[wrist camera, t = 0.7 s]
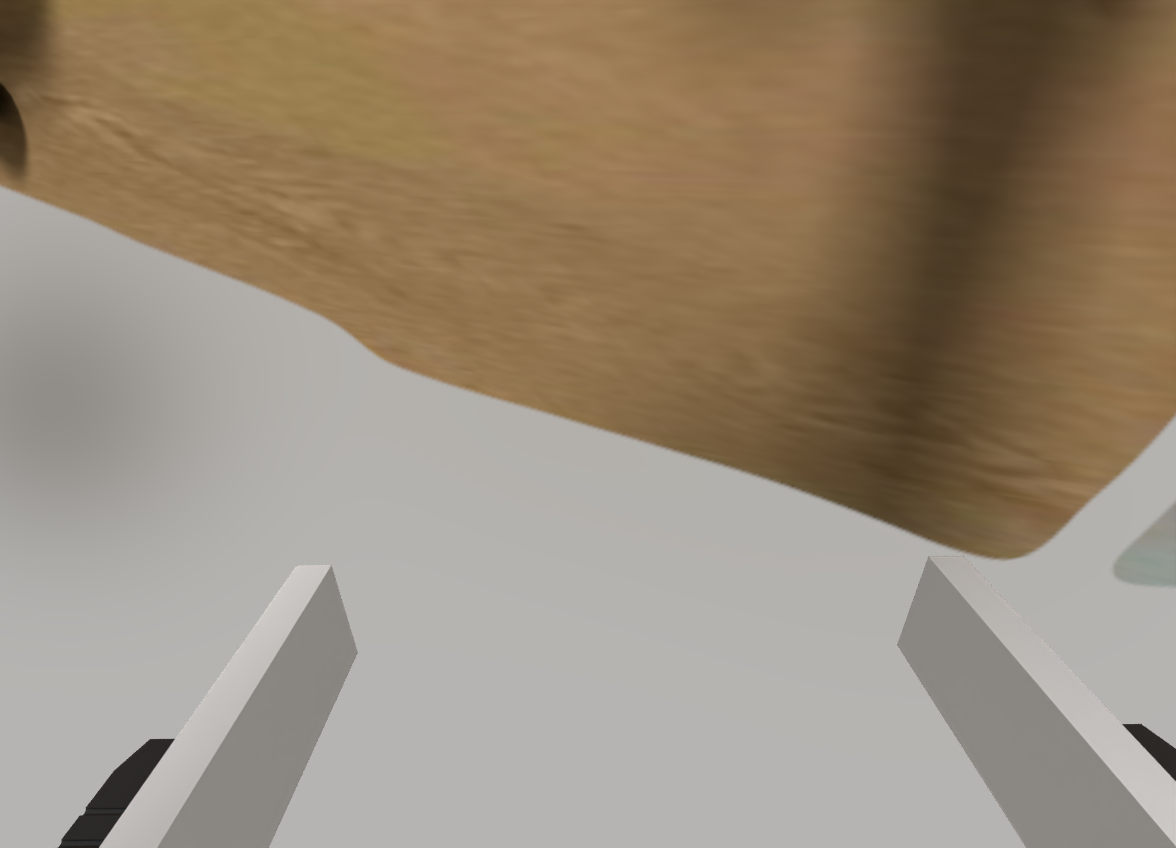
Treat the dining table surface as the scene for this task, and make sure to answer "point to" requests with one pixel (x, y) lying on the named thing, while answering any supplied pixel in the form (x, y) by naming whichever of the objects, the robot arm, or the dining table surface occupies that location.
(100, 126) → the dining table surface
